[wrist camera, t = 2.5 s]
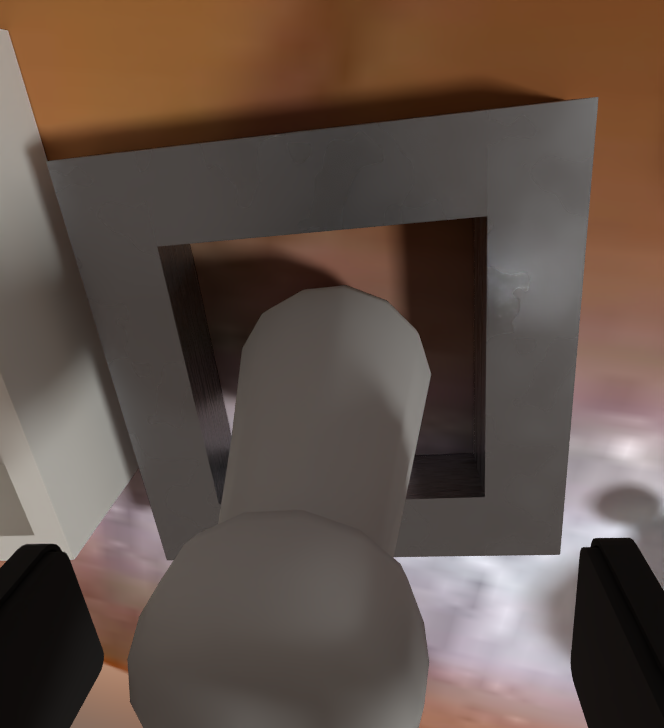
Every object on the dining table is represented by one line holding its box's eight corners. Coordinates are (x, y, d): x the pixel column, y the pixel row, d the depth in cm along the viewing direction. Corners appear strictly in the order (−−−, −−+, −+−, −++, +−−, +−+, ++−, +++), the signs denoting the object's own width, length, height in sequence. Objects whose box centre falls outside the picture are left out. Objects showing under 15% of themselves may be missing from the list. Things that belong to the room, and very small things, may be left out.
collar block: (91, 155, 17) (45, 161, 14) (566, 100, 15) (598, 97, 13) (189, 515, 22) (166, 560, 20) (541, 506, 21) (559, 554, 18)
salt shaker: (238, 389, 20) (19, 795, 8) (283, 241, 17) (65, 508, 6) (388, 441, 20) (391, 904, 8) (453, 303, 18) (588, 679, 6)
